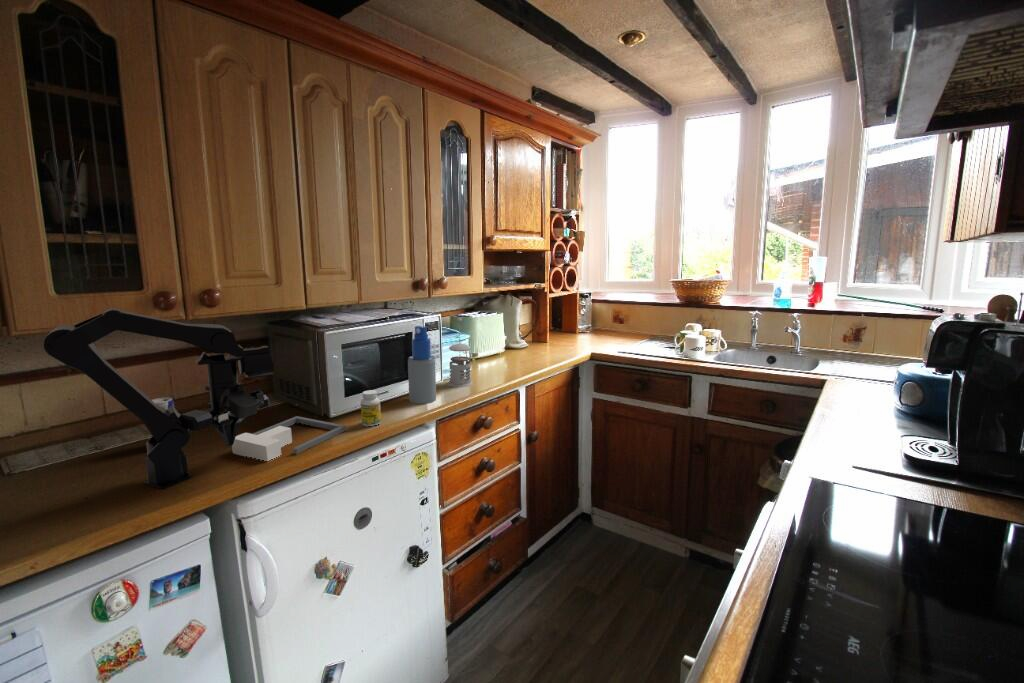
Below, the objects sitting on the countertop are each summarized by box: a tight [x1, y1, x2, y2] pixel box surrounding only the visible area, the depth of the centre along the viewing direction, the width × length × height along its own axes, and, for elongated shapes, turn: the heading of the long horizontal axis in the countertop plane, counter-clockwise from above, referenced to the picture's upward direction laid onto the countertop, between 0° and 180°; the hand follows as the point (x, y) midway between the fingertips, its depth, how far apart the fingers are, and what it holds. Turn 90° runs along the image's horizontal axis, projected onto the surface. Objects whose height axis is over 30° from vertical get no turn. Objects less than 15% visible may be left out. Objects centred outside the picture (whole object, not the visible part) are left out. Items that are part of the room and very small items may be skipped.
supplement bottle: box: [360, 389, 382, 427], centre depth 140 cm, size 5×5×10 cm
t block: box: [231, 426, 293, 462], centre depth 123 cm, size 11×12×4 cm
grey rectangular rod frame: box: [252, 415, 347, 454], centre depth 131 cm, size 17×18×2 cm
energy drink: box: [151, 396, 175, 410], centre depth 124 cm, size 5×5×12 cm
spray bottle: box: [407, 325, 437, 405], centre depth 161 cm, size 9×9×25 cm
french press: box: [446, 317, 474, 388], centre depth 181 cm, size 10×12×25 cm
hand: (230, 445), depth 113 cm, fingers closed
